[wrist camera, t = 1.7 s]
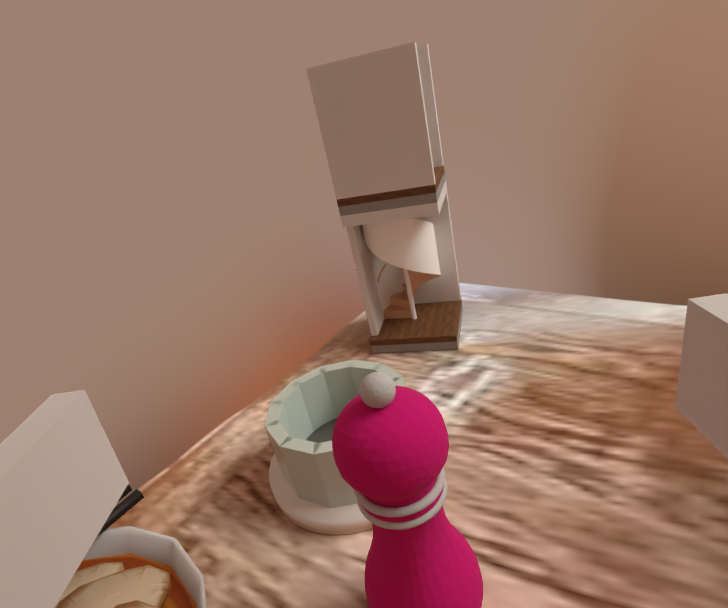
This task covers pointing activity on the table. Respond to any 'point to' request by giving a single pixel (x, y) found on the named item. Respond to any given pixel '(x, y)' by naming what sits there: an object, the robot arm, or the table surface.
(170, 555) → the ramen bowl
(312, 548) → the table surface
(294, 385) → the well
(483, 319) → the table surface
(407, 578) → the pepper mill
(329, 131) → the spiral stair tower
